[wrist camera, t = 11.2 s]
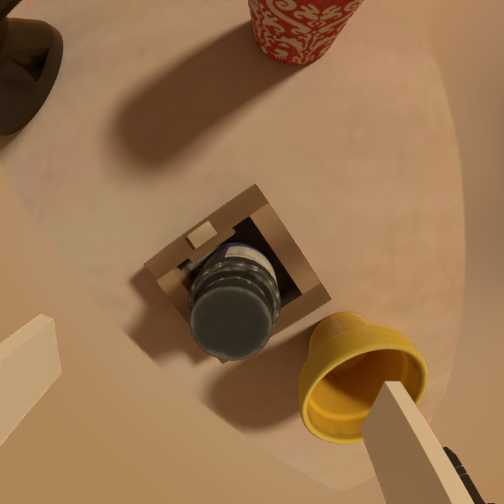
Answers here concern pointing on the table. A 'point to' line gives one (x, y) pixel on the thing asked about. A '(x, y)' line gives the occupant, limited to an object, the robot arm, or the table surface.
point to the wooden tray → (220, 229)
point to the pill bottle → (234, 302)
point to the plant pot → (353, 374)
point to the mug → (299, 27)
